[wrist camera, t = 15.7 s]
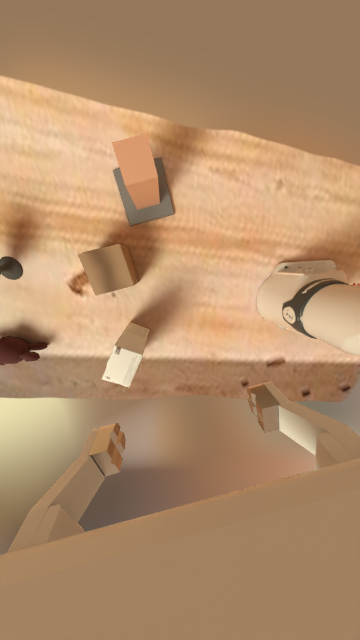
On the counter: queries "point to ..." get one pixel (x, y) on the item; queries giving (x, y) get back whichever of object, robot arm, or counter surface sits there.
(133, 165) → the terracotta pillar
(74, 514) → the robot arm
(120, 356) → the skincare box
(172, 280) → the counter surface
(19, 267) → the sundae
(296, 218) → the counter surface
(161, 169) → the grey mat
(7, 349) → the icecream
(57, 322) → the counter surface
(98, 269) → the lettered block
